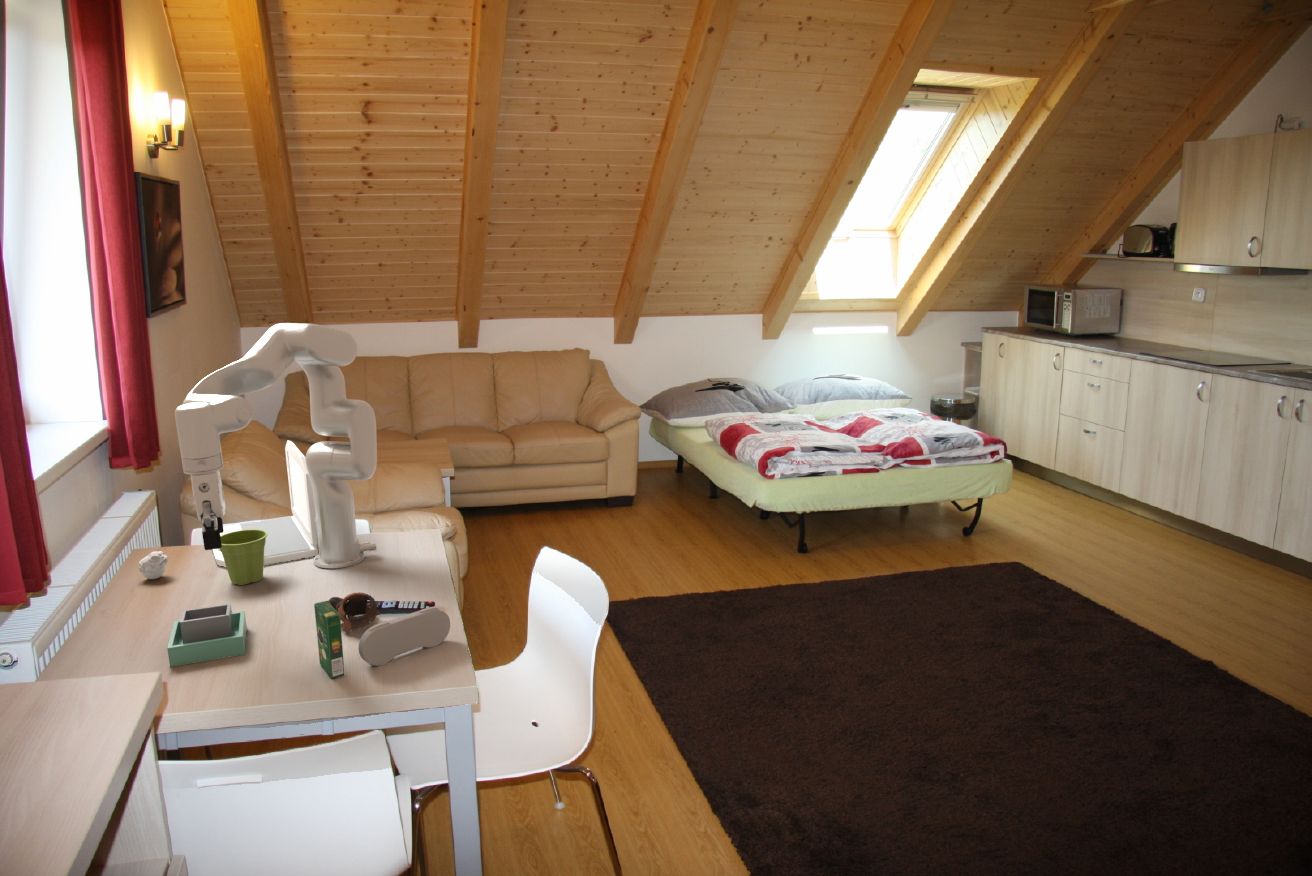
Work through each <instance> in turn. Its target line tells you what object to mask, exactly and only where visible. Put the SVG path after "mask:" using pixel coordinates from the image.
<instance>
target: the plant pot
mask: <svg viewBox="0 0 1312 876" xmlns="http://www.w3.org/2000/svg"><path fill="white" fill-rule="evenodd" d="M267 535H268V532H267V531H265V530H259V529H249V530H240V531H234V532H230V533H226V534H223V535H221V536H220V537H221V544H222V547H221V548H219V549H220V551H221V552H222V555H223V558H224V561H225V564H226V567H227V568H226V571H227V573H228V576H229V579H230V582H231V583H232V584H233V585H236V584H238V585H237V586H239V585H248V584H250V583H257V582H259V581H260V580H262V579H263V577H264V566H263V564H264V546H265V542H266V537H267Z"/></svg>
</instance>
